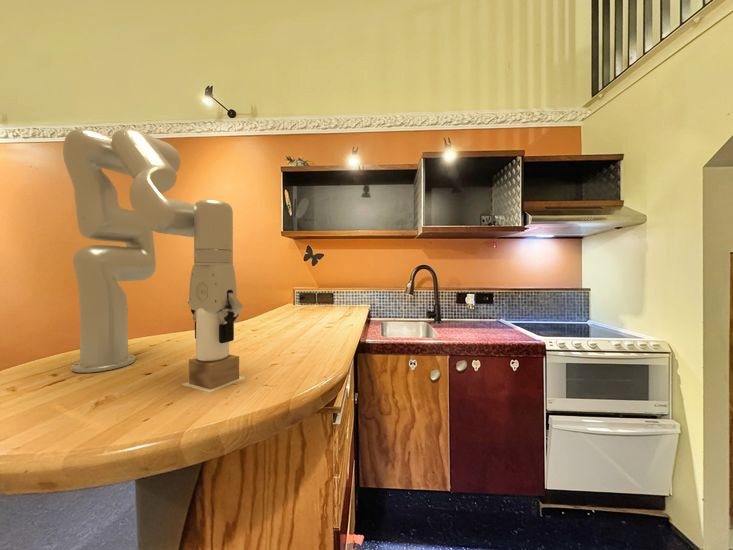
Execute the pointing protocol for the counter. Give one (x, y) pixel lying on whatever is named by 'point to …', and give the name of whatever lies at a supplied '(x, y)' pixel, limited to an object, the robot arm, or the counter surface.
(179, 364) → the counter surface
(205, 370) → the block
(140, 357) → the counter surface
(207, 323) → the can
